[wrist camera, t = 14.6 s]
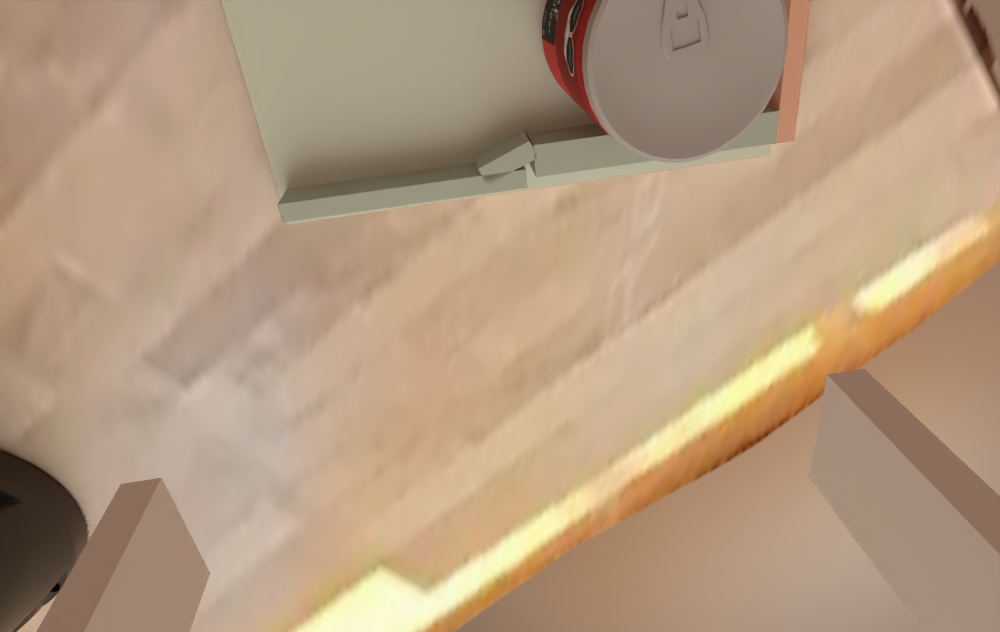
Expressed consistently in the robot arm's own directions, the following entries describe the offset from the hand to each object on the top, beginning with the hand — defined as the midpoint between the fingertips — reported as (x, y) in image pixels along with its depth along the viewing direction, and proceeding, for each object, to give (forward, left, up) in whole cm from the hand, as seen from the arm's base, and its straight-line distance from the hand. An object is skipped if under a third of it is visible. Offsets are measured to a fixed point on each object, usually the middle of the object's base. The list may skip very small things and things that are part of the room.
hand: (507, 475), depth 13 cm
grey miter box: (+4, +5, -27) cm, 27 cm away
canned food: (+9, +5, -26) cm, 28 cm away
